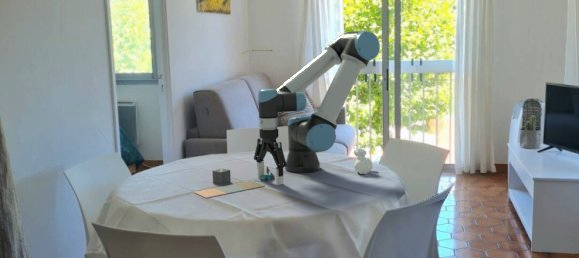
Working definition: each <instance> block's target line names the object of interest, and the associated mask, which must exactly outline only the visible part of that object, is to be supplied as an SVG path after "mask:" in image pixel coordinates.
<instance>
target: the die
mask: <svg viewBox="0 0 579 258" xmlns="http://www.w3.org/2000/svg"><path fill="white" fill-rule="evenodd" d="M231 180H232V179H231V169H226V168H218V169H215V170H212V183H213V184H218V185H224V184H228V183H231Z"/></svg>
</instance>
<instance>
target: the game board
mask: <svg viewBox="0 0 579 258" xmlns="http://www.w3.org/2000/svg"><path fill="white" fill-rule="evenodd" d="M265 186H266V185H264V184H261V183H260V182H257V181H254V180H248V181H244V182H238V183H233V184H228V185H223V186H216V187H213V188H208V189H203V190H196V191H194V192H193V194H196V195H198V196H200V197H202V198H205V199H210V198H213V197H218V196H223V195H224V196H225V195H229V194H234V193H235V194H236V193H239V192H244V191H249V190H252V189H259V188H263V187H265Z"/></svg>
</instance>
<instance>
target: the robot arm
mask: <svg viewBox="0 0 579 258" xmlns="http://www.w3.org/2000/svg"><path fill="white" fill-rule="evenodd" d="M380 48H381V44H380V42H379V38H378V36H377V35H376V34H375V33H373V32H372V31H367V30H360V31H346V32H344V33H341V34H340V35H339V36H337V37H336V38H335V39H333V41H332V42H330V43H329V44H328V45H326V46H325V47H324V51H323V52H321V54H319V55H318V56H317V57H315V58H314V59H313V60H312V61H310V62H309V63H308V64H307V65H305V66H304V67H303V68H301V69H300V70H299V71H298V72H297V73H295V74H294V75H292V77H290V78H289V79H288V80H286V81H285V82H284V83H283V84H282V85H280V86H279V87H278V88H263V89H259V91H258V97H257V104H258V120H259V121H258V125H259V128H260V129H259V131H258V132H259V133H258V134H259V135H258V136H259V138H257V139H256V141H257V143H256V147H255V152H254V156H253V160H254V161H256V164H257V179H259V180H260V176H262V175H265V160H264V159H265V157H266V155H267V153H269V154H271V156H272V159H273V161H274V163H275V166H276V168H275V179H276V181H275V182H276V185H277V186H279V185H284V169H285V171H287V172H291V173H312V172H317V171H319V170H320V169H321V165H320V160H319V157H318V155H317V152H318V153H319V152H320V153H323V152H327V151H329V150H330V149H331V148H332V147H333V146H334V144H335V142H336V140H337V139H336V138H337V135H336V129H337V128H338V125H337V120H338V117H339V115H340V112H341V111H342V109H343V108H344V107H343V106H344V105H345V103H346V101H347V98H348V97H349V95H350V93H351V91H352V88H353V86H354V84H355V83H356V80H357V79H358V76H359V74H360V73H361V71H362V70H363V69H366V68H367V67H368V64H369V62H370V61H372V60H374V59H375V58H376V57H377V56H378V55H379V52H380V50H381V49H380ZM335 65H337V66H339V67H338V69H337V70H336V73H335V75H334V77H333V79H332V81H331V83H330V85H329V87H328V89H327V90H326V93H325V95H324V97H323V99H322V101H321V103H320V105H319V107H318V108H317V111H316V112H312V113H311V115H309V116H306V115H305V116H296V117H295V116H294V117H290V118H288V119H287V132H288V133H287V134H288V135H287V136H288V137H287V138H288V153H287V157H286V158H285V154H284V150H283V144H282V142H281V141H279V142H277V139H278V138H279V129H278V128H279V113H286V112H287V113H288V112H299V111H304V110H306V106H307V97H306V95H305V93H303V92H304V91H305V90H306V89H307V88H308V87H309V86H311V85H312V84H314V83H315V82H316V81H317V80H319V78H321V77H322V76H323V75H325V74H326V73H327V72H328V71H329V70H331V69H332V68H333V67H334V66H335Z"/></svg>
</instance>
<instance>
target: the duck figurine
mask: <svg viewBox="0 0 579 258" xmlns="http://www.w3.org/2000/svg"><path fill="white" fill-rule="evenodd" d="M353 153H354V154H353V155H355V157H357V158H356V160H355V161H354V171H355V172H357V173H359V174H360V175H367V174H369V173H371V172H372V169H373V162H372V159H371V158H370V157H366V155H367V151H366V150H365V148H361V147H360V148H356V149H354V151H353Z"/></svg>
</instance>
